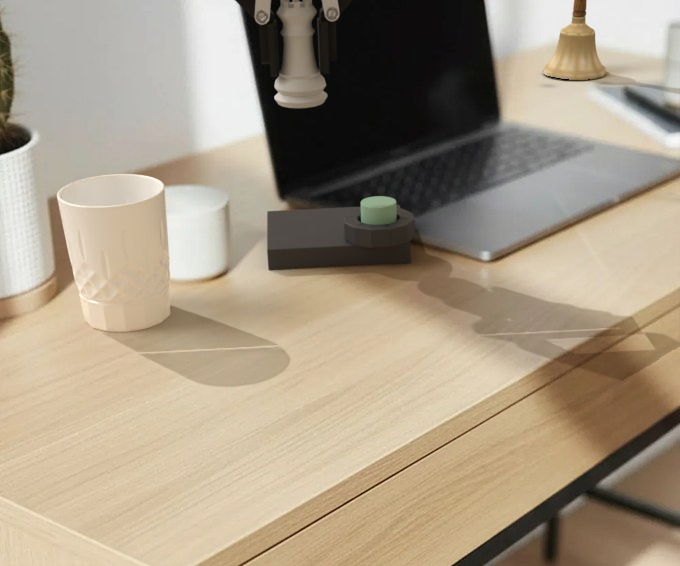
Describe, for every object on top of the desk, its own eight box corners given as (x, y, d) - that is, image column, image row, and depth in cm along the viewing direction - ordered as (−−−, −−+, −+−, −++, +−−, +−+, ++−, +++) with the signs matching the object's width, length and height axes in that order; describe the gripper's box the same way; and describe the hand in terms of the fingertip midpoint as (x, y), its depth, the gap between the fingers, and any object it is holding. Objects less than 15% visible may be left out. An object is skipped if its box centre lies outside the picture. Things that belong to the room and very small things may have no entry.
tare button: (394, 215, 102) (394, 195, 102) (398, 226, 100) (398, 206, 99) (359, 216, 102) (359, 196, 101) (362, 228, 100) (361, 208, 99)
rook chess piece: (306, 93, 102) (302, -8, 98) (338, 102, 99) (335, -2, 95) (263, 102, 100) (256, -1, 96) (295, 112, 97) (289, 6, 93)
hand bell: (613, 68, 159) (624, -65, 150) (597, 82, 152) (608, -56, 144) (552, 64, 162) (560, -66, 153) (534, 78, 155) (541, -57, 147)
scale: (404, 224, 110) (404, 186, 108) (417, 268, 100) (417, 227, 99) (268, 231, 109) (265, 193, 108) (268, 275, 100) (265, 235, 98)
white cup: (150, 341, 90) (134, 210, 84) (58, 330, 92) (36, 202, 87) (195, 301, 96) (182, 177, 91) (107, 292, 98) (89, 170, 93)
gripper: (171, -180, 85) (196, 87, 95) (403, -190, 86) (404, 77, 95) (177, -185, 91) (200, 66, 101) (393, -194, 92) (396, 57, 102)
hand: (299, 69), depth 98 cm, fingers closed on rook chess piece, 3 cm apart
